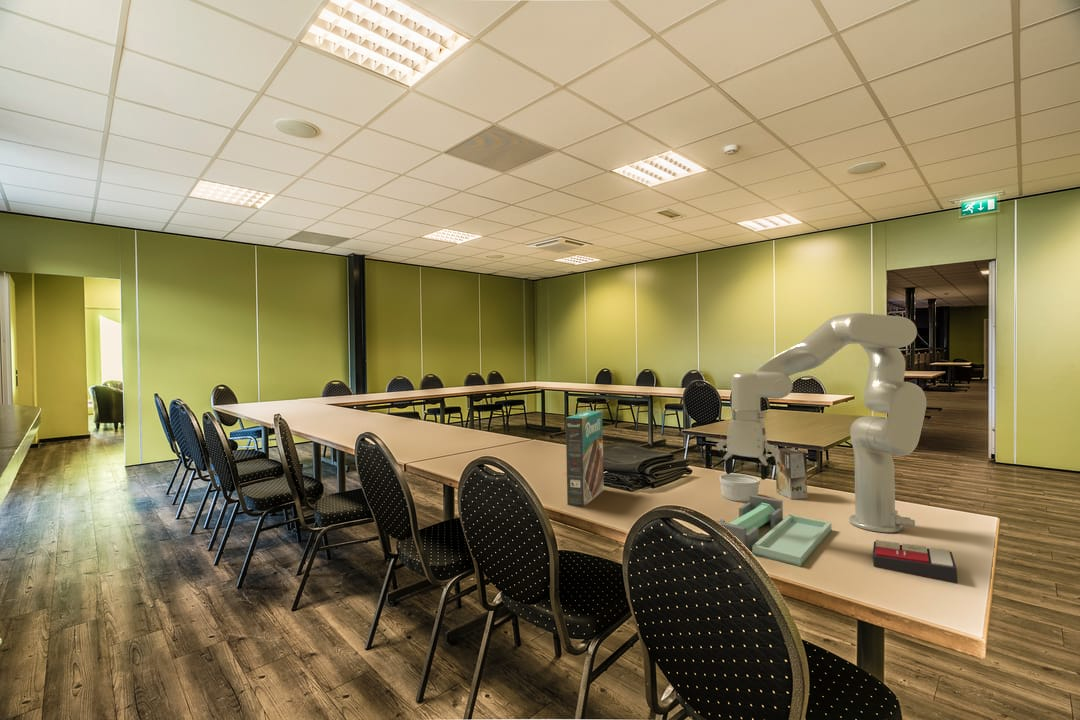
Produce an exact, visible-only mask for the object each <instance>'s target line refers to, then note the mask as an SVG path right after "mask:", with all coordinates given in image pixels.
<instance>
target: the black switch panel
mask: <svg viewBox="0 0 1080 720" xmlns="http://www.w3.org/2000/svg"><path fill="white" fill-rule="evenodd" d="M872 563H873V564H872V566H873V567H874V568H878V569H883V570H886V571H887V570H888V571H893V572H897V573H902V574H908V575H913V576H920V577H926V578H930V579H933V580H937V581H941V582H946V583H950V584H951V583H952V584H958V581H959V580H958V571H957V565H956V562H955V559H954V556H953V552H952V551H950V550H949V549H941V548H933V547H927V546H926V545H925V546H924V545H919V544H910V543H904V542H903V543H901V544H900V542H897V541H889V540H888V541H886V540H880V539H876V540H875V541H874V542H873V549H872Z"/></svg>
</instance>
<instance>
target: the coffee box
mask: <svg viewBox="0 0 1080 720" xmlns="http://www.w3.org/2000/svg"><path fill="white" fill-rule="evenodd" d="M777 449H778V450H779V454H778V455H777V457H776V459H775V476H776V477H775V478H776V479H775V480H776V481H775V482H776V493H777V494H780V495H782V496H783V497H785V498H788V499H790V500H799V499H808V475H807V474H808V473H807V472H808V471H807V470H808V469H807V467H808V466H807V463H808V462H807V452H805V451H802V450H798V449H795V448H792V447H783V448H782V447H781V448H777Z"/></svg>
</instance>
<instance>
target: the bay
mask: <svg viewBox="0 0 1080 720" xmlns="http://www.w3.org/2000/svg"><path fill="white" fill-rule="evenodd" d="M761 503H766V504H770V505H771V506H772V507H773V508H774V510H775V511H774V512H773V513H772V514H770V517H771V522H770V529H773V528H774V527H775V526H776V525H777V524H779V523H780V522H781V521H782V520H783V519H784V514H783V512H784V509H783V507H784V506H783V499H778V498H771V497H766V496H760V495H758V496H756V495H751V496H750V502H745V503H744V504H743V505H742V506H740V507H739V508H738V518H739V517H741V516H743V515H745V514H746V513H748V512H750V511H752V510H754V509H755V508H756V507H757V506H758V505H760V504H761ZM715 521H716V522H718V523H720V524H721V525H722V526H724V527H725V528H726V529H727V530H729V531H730V532H731V533H732V534H733V535H734V536H736V537H737V538H738V539H739V540H740V541H741V542H742V543H743V544H744V545H745V546H746V547H747V548H748V549H749V551H750V550H751V549H752V546H753V545H754V544H755V543H756V542H757V541H758V540H760V538H759V536H760V535H759V532H760V531H759V528H758V527H753V528H752V529H751V530H749V531H748V532H747V533H746V527H743V526H738V525H734V524H729V523H730V522H726V520H725V519H722V518H721V519H720V520H715Z"/></svg>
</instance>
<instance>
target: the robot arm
mask: <svg viewBox="0 0 1080 720" xmlns="http://www.w3.org/2000/svg"><path fill="white" fill-rule="evenodd" d="M917 334H918V330H917V326H916V324H915V323H914V322H913V321H912V320H911V319H909V318H907V317H904V316H900V315H899V316H898V315H889V314H887V315H886V314H876V313H865V312H854V313H847V314H839V315H836V316H833V317H831V318H829V319H828V320H826V321H824V322H823V323H822V324H821V325H820V326H819V327H817V328H816V329H814V330H813V331H812V332H811V333H810V334H809V335H807V336H806V337H804V338H803V339H802V340H801V341H800V342H798V343H797V344H795V345H793V346H791V347H789V348H787V349H786V350H784V351H782V352H781V353H777V355H775V356H773V357H772V358H770V359H768V360H767V361H766V362H764V363H763V364H761V365H760V366H758V368H756V370H754V371H753V372H738V373H734V374H732V375H731V419H730V420H729V423H728V426H727V427H728V428H727V434H726V439H723V440H722V441H719V442H717V443H715V446H716V448H717V449H716V450H717V451H718V453H719V454H720V455H721V457H722V458H723V460H724V471H725V474H733V473H734V459H733V458H732V457H733V456H739V457H747V458H755V459H756V458H757V459H759V461H760V462H761V465H760V479H761V480H763V481H764V480H767V479H768V478H769V476H770V464H771V463H773V462H774V461H776V457H777V455H778V454H779V450H778V449H779V448H776V447H775V446H772V445H771V443H770V444H769V443H768V439H767V438H768V437H767V431H766V425H765V421H763V420H762V419H766V417H767V415H766V413H763V412H762V410H761V398H767V399H774V400H777V399H780V400H781V399H783V398H785V397H788V396H789V395H790V394H791V393H792V390H793V385H794V384H793V381H792V379H791V378H790V376H792V375H796V374H798V373H802V372H806V371H810V370H812V369H816V368H818V367H820V366H822V365H823V364H825V363H826V362H827V361H828V360H830V359H831V358H832V357H833V356H834V355H836V354H837V353H838V352H839V351H840V350H842V349H843V348H844V347H845V346H847V345H851V344H853V345H857V344H859V345H860V346H861V347H862V349H863V350H864V351H865V352H866V354H867V356H868V360H869V367H868V368H869V369H868V375H867V378H866V382H865V383H866V384H865V386H864V392H863V393H864V394H863V397H862V398H863V400H862V401H863V404H864V406H865V407H866V409H868V410H869V411H872V412H874V413H880V414H886V415H887V417H886V418H885V417H879V416H872V415H868V416H867V415H865V416H861V417H859V418H857V419H855V420H854V421H853V422H852V423H851V426H850V429H849V430H850V431H849V432H850V433H849V434H850V440H851V445H852V449H853V456H854V457H853V458H854V504H855V505H854V506H855V507H854V510H855V511H854V512H855V514H853V515H850V516H849V518H848V519H849V523H851V525H853V526H854V527H855V526H856V527H858V528H861V529H863V530H867V531H871V532H872V531H873V532H879V533H898V532H901V531H902V530H903V526H907V527H912V528H915V527H916V520H915V519H911V517H909V516H908V517H907V516H901V515H900V514H899V513H898V510H896V489H895V487H896V486H895V484H896V483H895V482H896V481H895V479H896V478H895V477H896V476H895V473H896V472H895V471H896V470H895V463H894V460H893V456H897V457H898V456H900V457H901V456H904V457H905V456H908V455H909V454H911V453H912V452H914V450H915V449H917V446H918V444H919V441H920V438H921V433H922V428H923V424H924V421H925V420H924V419H925V415H926V410H927V397H926V394H925V391H924V390H923V389H922V388H921V387H920V386H919V385H917V384H916V383H913V382H910V381H904V380H905V373H906V359H905V357H904V354H903V353H902V351H901V350H900V349H901V348H904V347H907V346H909V345H911V344H912V343H913V342H914V341H915V339H916V337H917ZM725 445H726V450H725V449H724V446H725ZM768 451H769V452H771V455H770V456H767V455H768ZM892 455H893V456H892Z"/></svg>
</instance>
